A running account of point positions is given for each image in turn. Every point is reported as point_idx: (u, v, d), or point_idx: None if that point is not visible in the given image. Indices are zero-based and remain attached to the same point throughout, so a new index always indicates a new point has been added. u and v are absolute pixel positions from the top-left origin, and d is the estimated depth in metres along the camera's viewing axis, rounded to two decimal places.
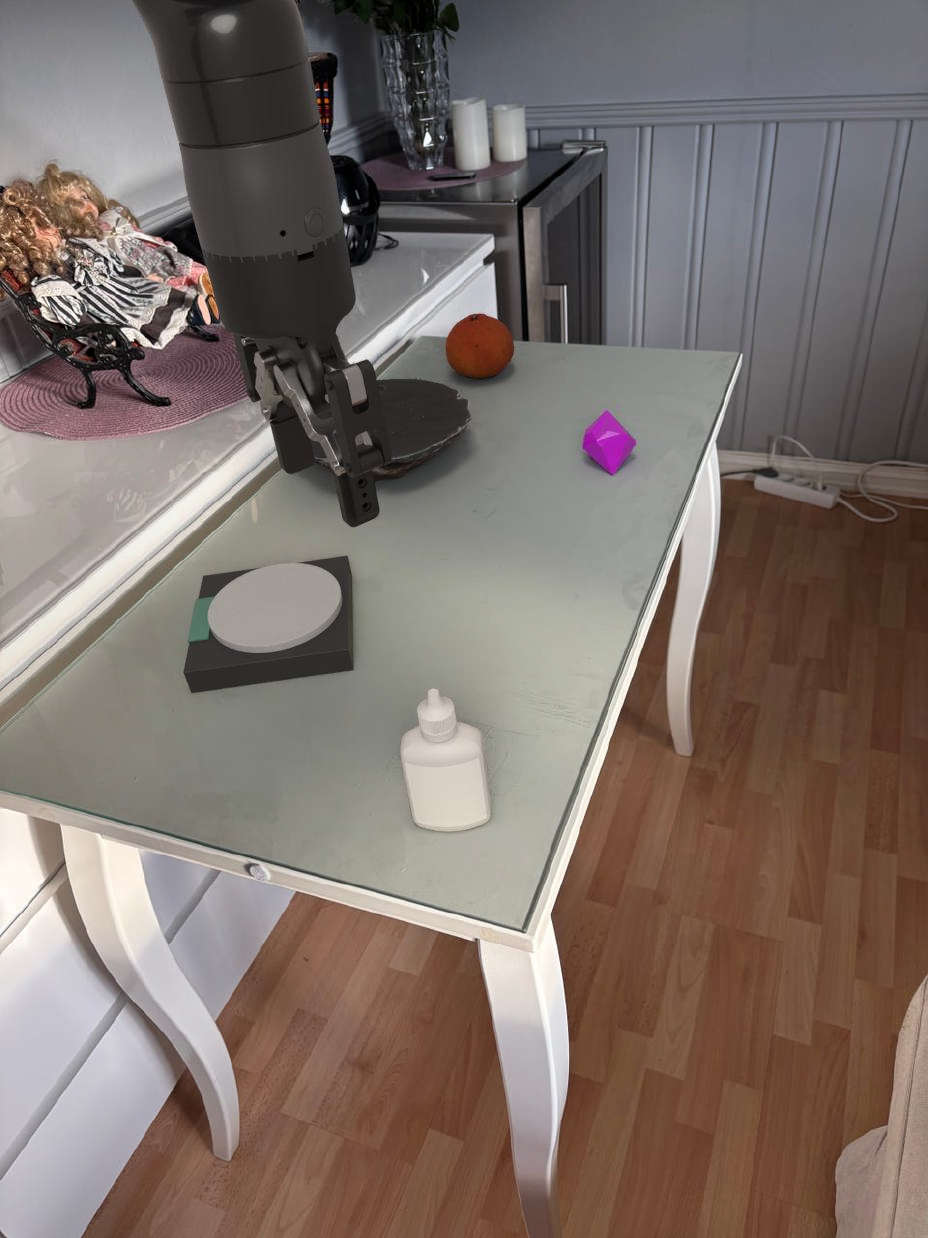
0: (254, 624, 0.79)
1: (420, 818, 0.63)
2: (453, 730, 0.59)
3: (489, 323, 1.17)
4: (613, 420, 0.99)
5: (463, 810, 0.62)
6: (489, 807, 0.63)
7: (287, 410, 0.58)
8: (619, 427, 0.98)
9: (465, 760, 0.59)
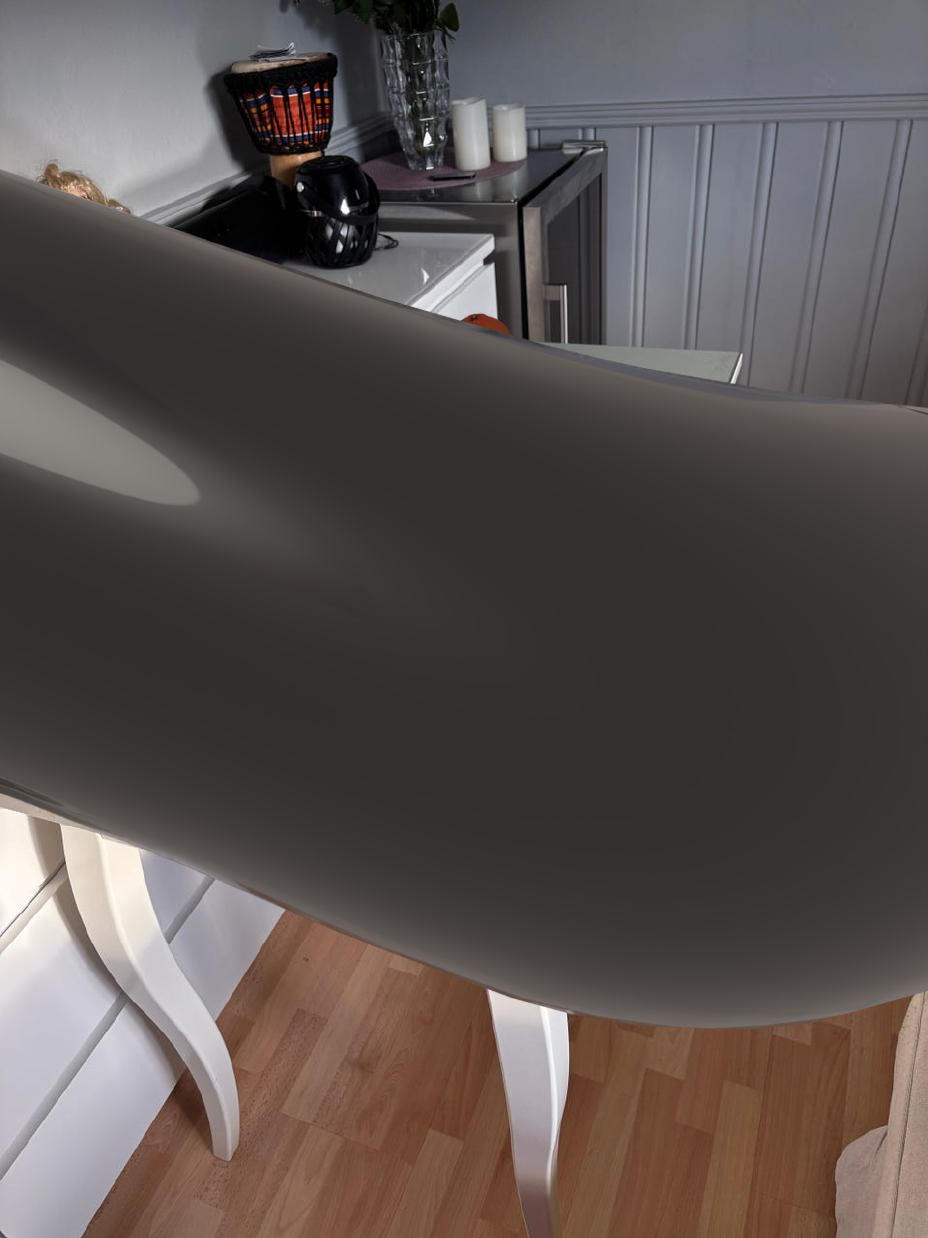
0: None
1: None
2: None
3: (489, 323, 1.17)
4: None
5: None
6: None
7: None
8: None
9: None
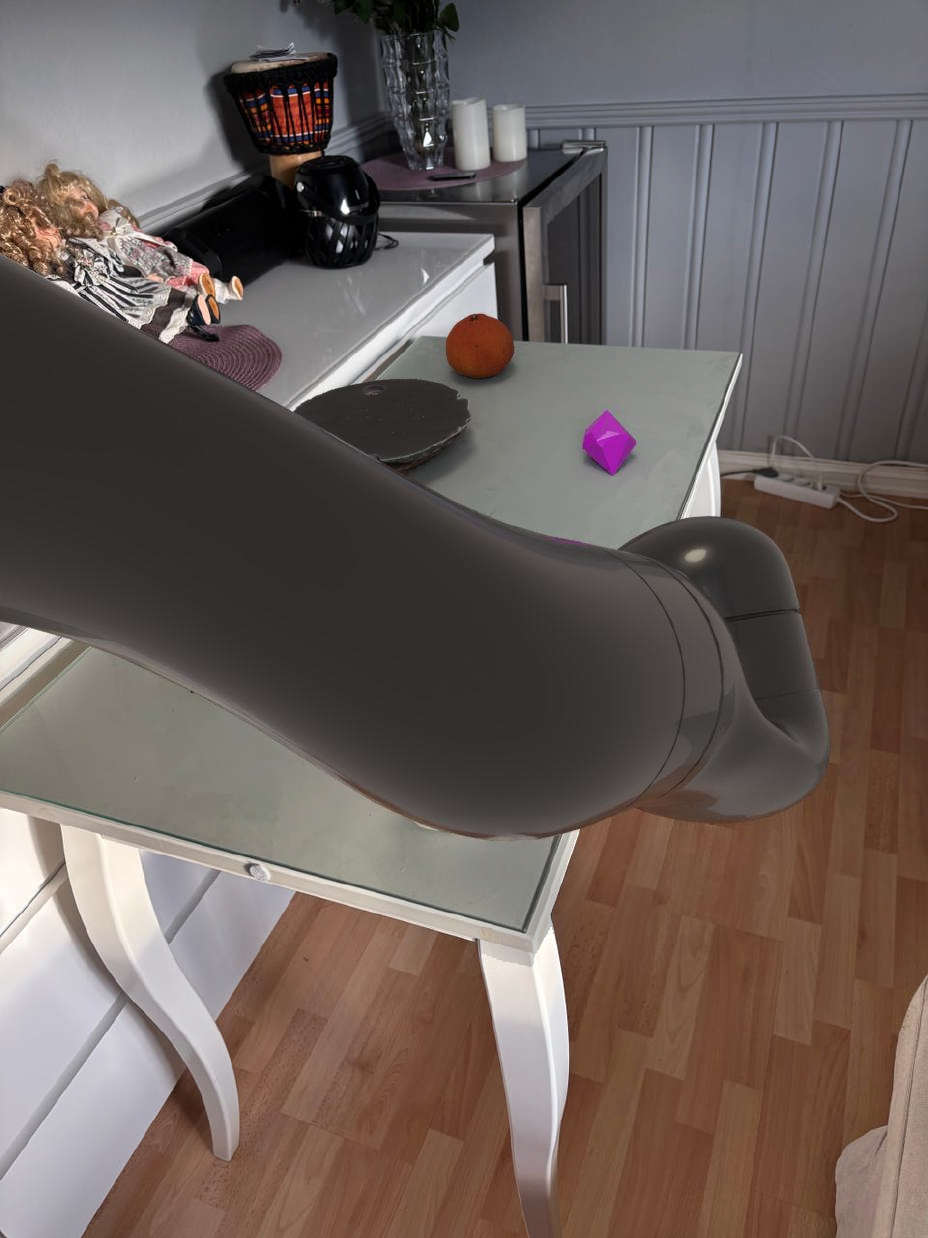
0: None
1: None
2: None
3: (489, 323, 1.17)
4: (613, 420, 0.99)
5: None
6: None
7: None
8: (619, 427, 0.98)
9: None
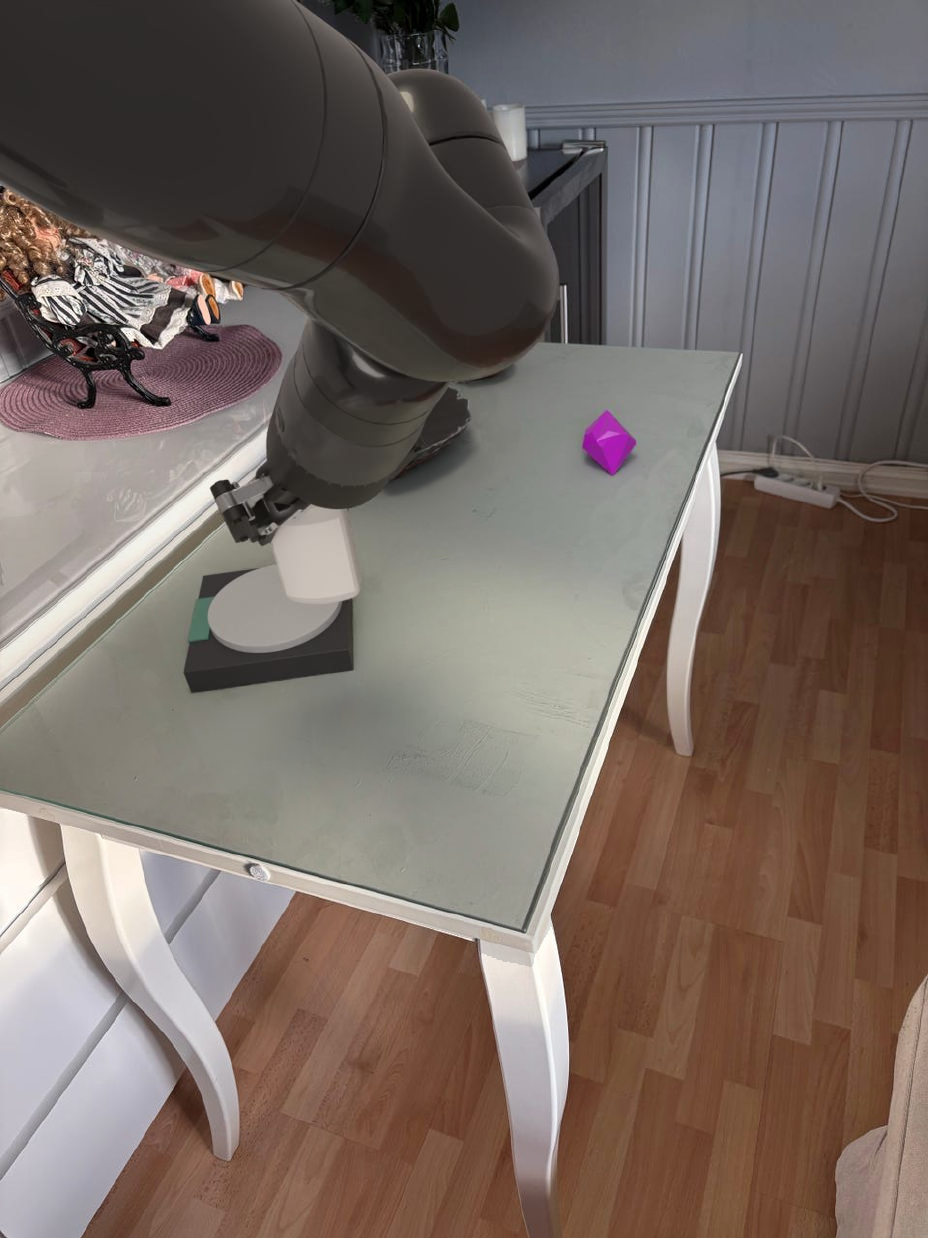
0: (254, 624, 0.79)
1: (289, 590, 0.65)
2: None
3: None
4: (613, 420, 0.99)
5: (329, 578, 0.64)
6: (357, 579, 0.65)
7: None
8: (619, 427, 0.98)
9: (325, 519, 0.61)
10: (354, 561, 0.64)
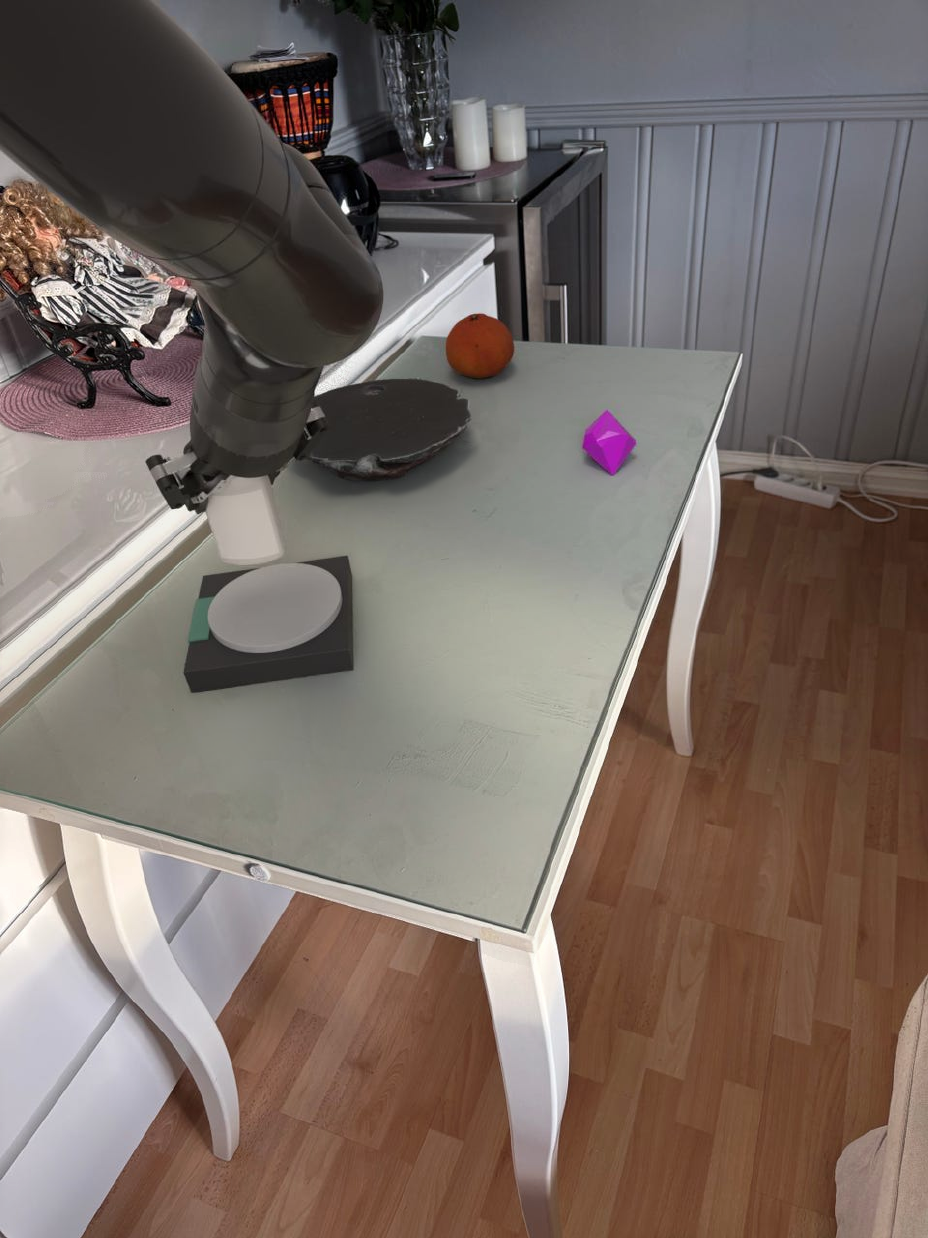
0: (254, 624, 0.79)
1: (223, 552, 0.76)
2: None
3: (489, 323, 1.17)
4: (613, 420, 0.99)
5: (256, 542, 0.75)
6: (281, 543, 0.76)
7: None
8: (619, 427, 0.98)
9: (249, 490, 0.72)
10: (277, 527, 0.75)
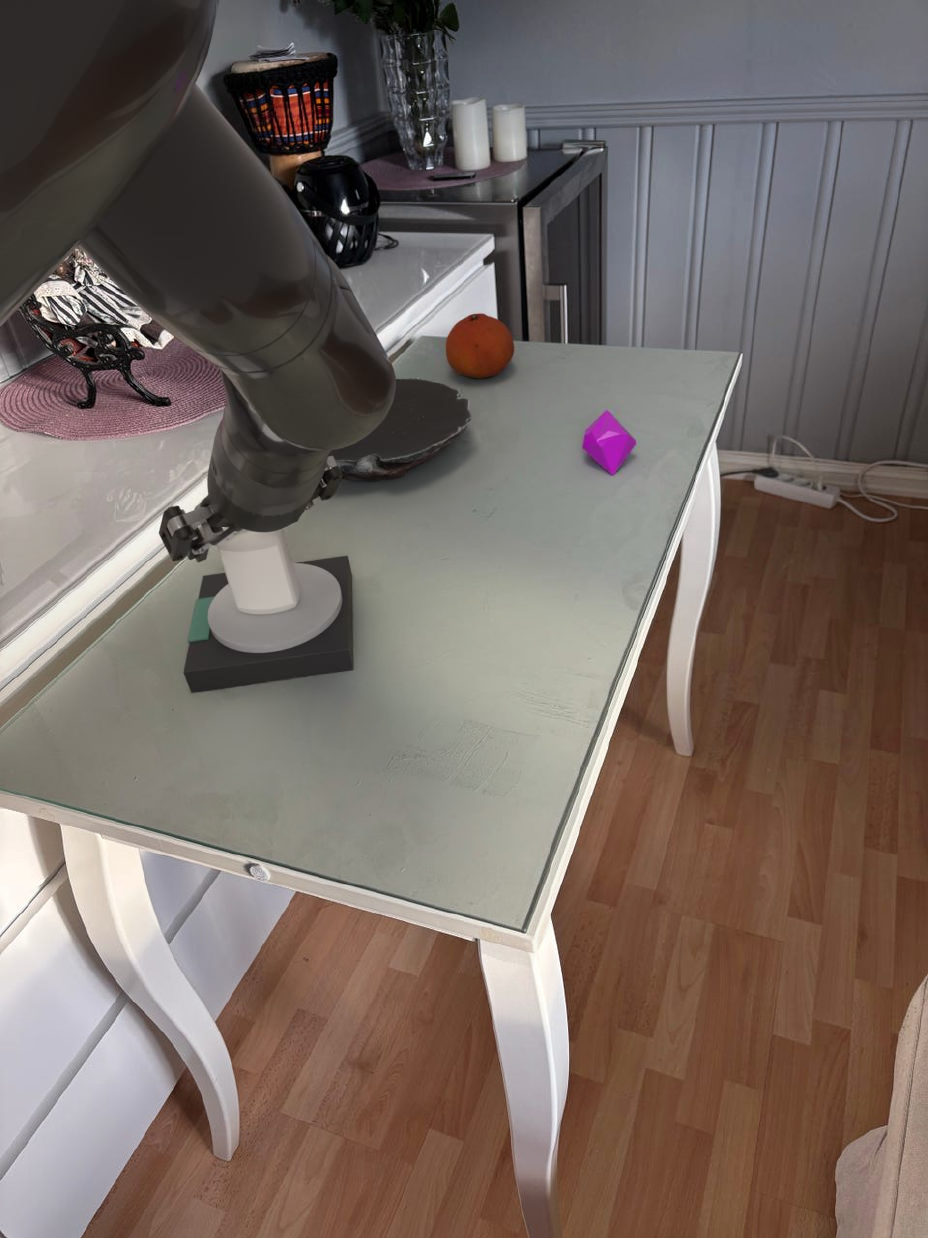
0: (254, 624, 0.79)
1: (240, 603, 0.80)
2: None
3: (489, 323, 1.17)
4: (613, 420, 0.99)
5: (271, 593, 0.79)
6: (294, 594, 0.80)
7: (200, 534, 0.72)
8: (619, 427, 0.98)
9: (266, 546, 0.76)
10: (292, 579, 0.79)
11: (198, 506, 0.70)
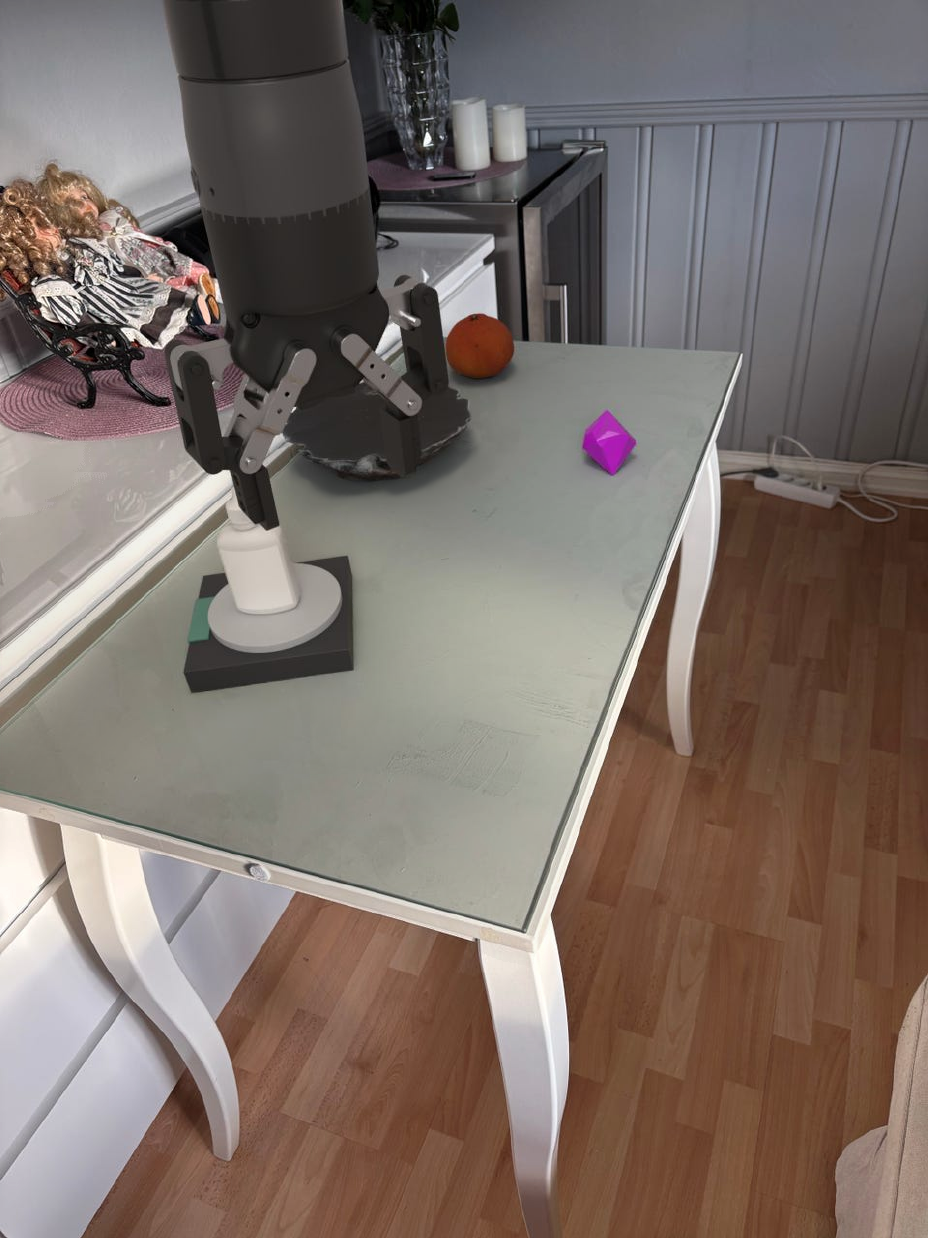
0: (254, 624, 0.79)
1: (240, 603, 0.80)
2: None
3: (489, 323, 1.17)
4: (613, 420, 0.99)
5: (271, 593, 0.79)
6: (294, 594, 0.80)
7: None
8: (619, 427, 0.98)
9: (266, 546, 0.76)
10: (292, 579, 0.79)
11: (237, 394, 0.46)
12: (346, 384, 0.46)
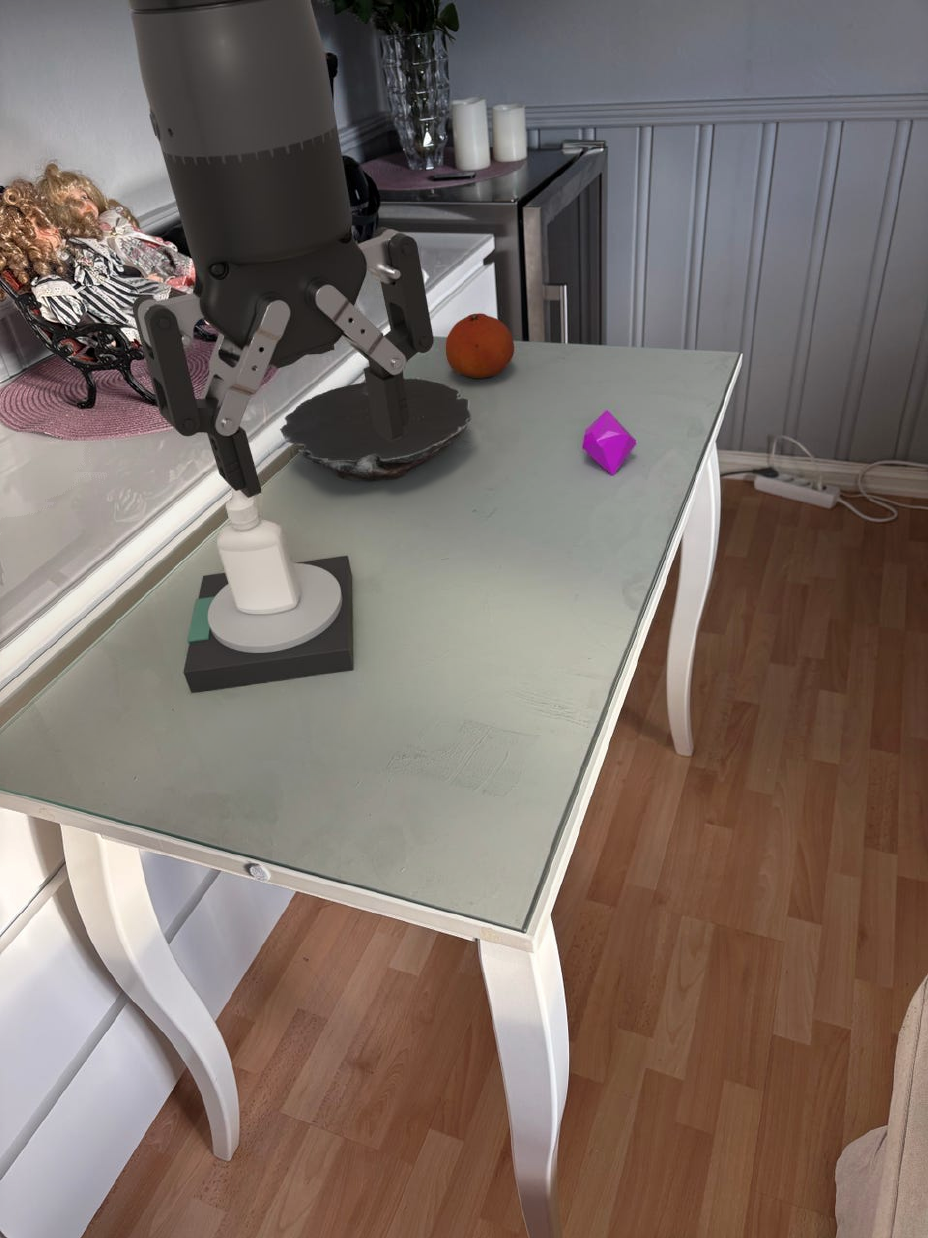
0: (254, 624, 0.79)
1: (240, 603, 0.80)
2: (254, 520, 0.75)
3: (489, 323, 1.17)
4: (613, 420, 0.99)
5: (271, 593, 0.79)
6: (294, 594, 0.80)
7: None
8: (619, 427, 0.98)
9: (266, 546, 0.76)
10: (292, 579, 0.79)
11: (212, 355, 0.44)
12: (324, 340, 0.44)
